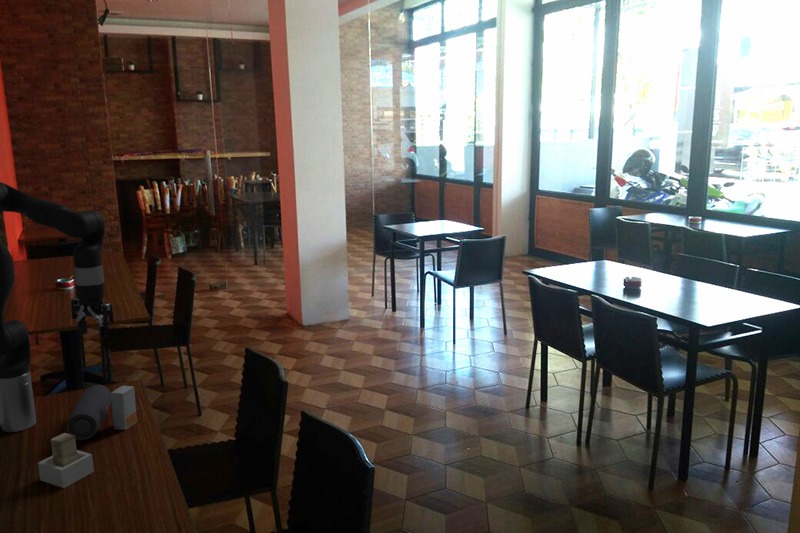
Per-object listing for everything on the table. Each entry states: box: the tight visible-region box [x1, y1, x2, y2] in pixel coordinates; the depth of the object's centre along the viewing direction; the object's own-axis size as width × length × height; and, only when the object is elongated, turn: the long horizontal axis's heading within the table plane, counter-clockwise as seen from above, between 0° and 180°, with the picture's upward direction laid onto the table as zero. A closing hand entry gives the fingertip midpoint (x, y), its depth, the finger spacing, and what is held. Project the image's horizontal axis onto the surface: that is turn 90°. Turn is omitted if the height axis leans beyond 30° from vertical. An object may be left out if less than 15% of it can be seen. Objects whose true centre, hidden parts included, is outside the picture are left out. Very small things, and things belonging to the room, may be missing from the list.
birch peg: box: [50, 432, 78, 468], centre depth 166 cm, size 4×4×10 cm
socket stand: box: [37, 449, 95, 489], centre depth 167 cm, size 9×9×5 cm
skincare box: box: [110, 385, 138, 431], centre depth 195 cm, size 6×4×12 cm
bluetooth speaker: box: [66, 384, 112, 441], centre depth 194 cm, size 23×9×10 cm, turn 14°
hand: (94, 336), depth 183 cm, fingers open, 8 cm apart
